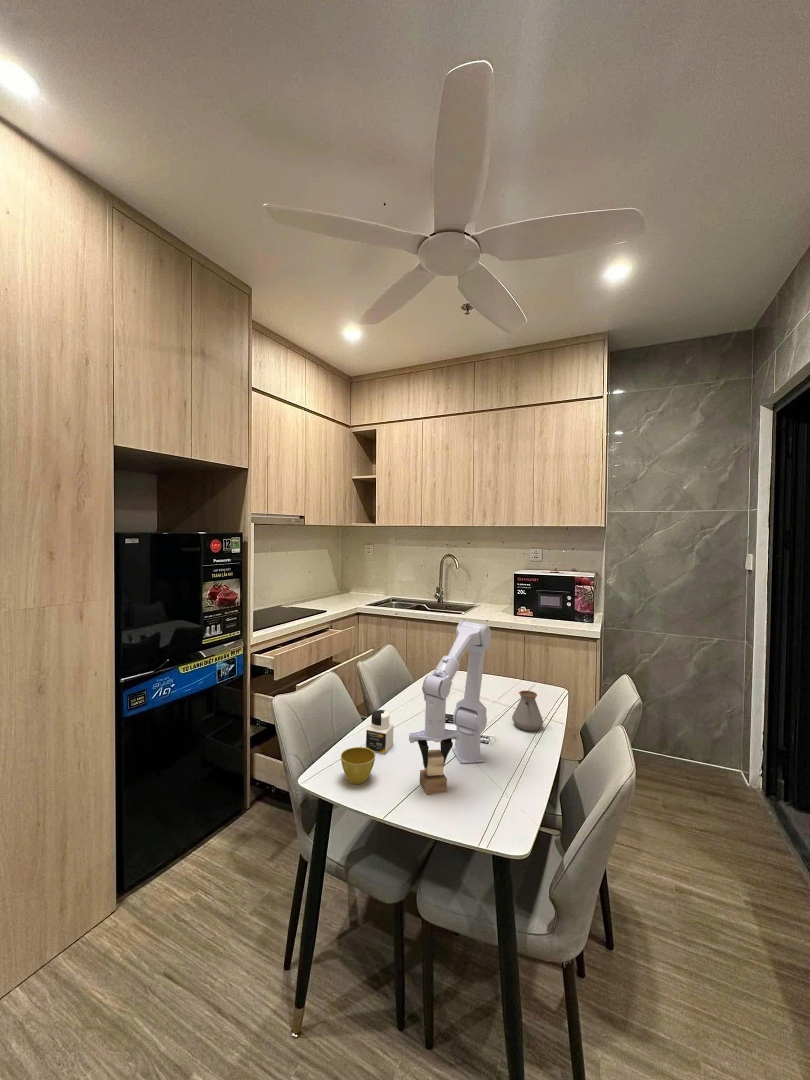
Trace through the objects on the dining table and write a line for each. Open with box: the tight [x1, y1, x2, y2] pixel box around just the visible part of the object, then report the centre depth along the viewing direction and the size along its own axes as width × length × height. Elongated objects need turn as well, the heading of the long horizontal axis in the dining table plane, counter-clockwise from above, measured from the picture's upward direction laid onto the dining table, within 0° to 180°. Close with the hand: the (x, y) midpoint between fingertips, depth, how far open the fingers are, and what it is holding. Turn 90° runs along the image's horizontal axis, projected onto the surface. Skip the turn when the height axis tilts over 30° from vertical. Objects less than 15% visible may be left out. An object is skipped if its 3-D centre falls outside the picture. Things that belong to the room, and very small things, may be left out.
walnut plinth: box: [419, 769, 448, 796], centre depth 126 cm, size 6×6×4 cm
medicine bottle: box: [365, 709, 394, 755], centre depth 148 cm, size 7×7×12 cm
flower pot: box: [340, 746, 376, 785], centre depth 128 cm, size 10×10×7 cm
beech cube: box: [423, 748, 445, 776], centre depth 126 cm, size 4×4×5 cm
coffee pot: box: [511, 690, 544, 732], centre depth 163 cm, size 21×12×15 cm, turn 161°
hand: (433, 765), depth 126 cm, fingers closed on beech cube, 4 cm apart
